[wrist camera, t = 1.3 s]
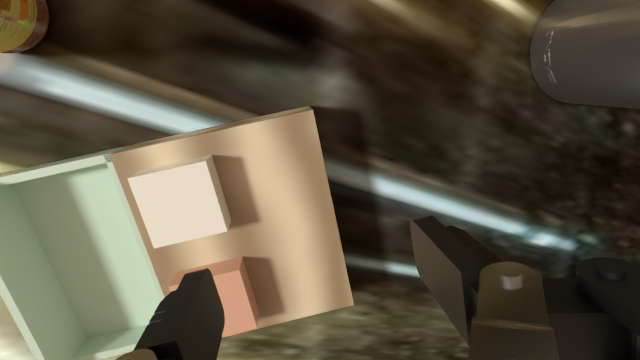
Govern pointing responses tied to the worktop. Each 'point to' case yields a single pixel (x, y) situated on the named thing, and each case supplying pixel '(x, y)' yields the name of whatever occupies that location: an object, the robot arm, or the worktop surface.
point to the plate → (258, 212)
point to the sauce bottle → (22, 24)
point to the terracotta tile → (230, 294)
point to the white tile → (181, 201)
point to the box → (74, 260)
